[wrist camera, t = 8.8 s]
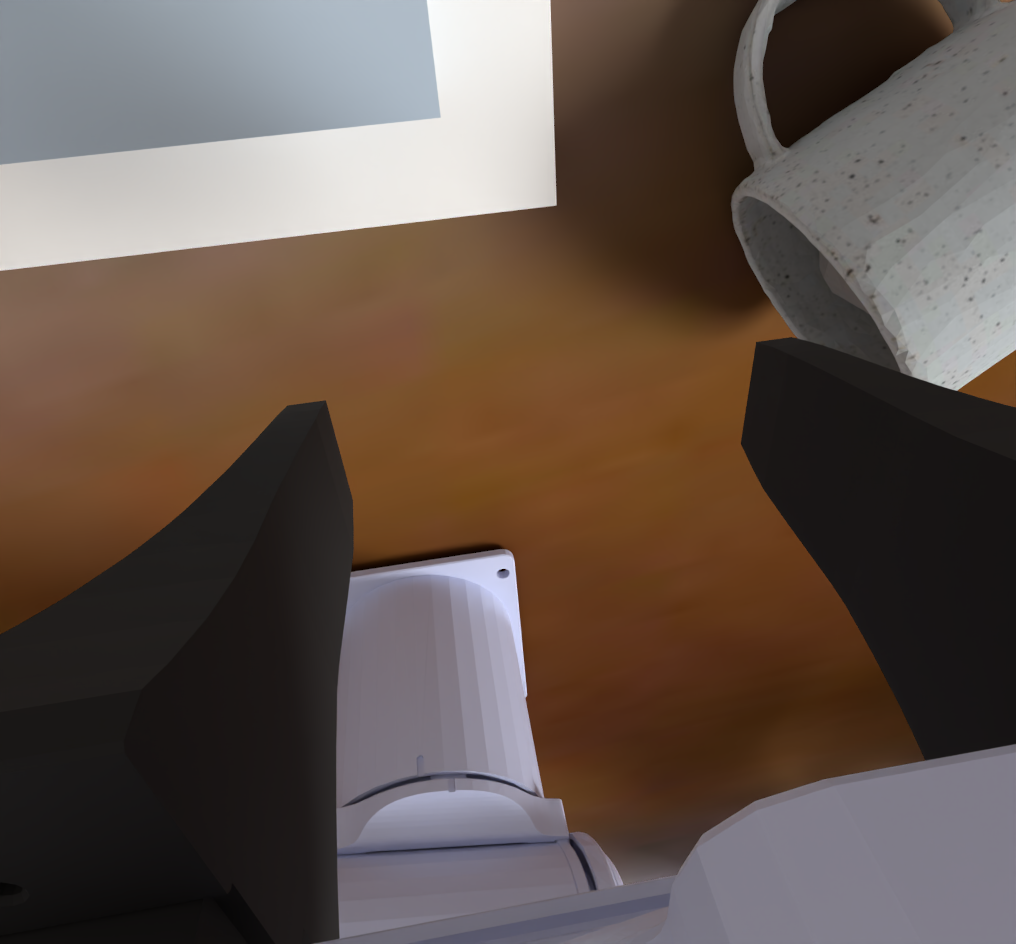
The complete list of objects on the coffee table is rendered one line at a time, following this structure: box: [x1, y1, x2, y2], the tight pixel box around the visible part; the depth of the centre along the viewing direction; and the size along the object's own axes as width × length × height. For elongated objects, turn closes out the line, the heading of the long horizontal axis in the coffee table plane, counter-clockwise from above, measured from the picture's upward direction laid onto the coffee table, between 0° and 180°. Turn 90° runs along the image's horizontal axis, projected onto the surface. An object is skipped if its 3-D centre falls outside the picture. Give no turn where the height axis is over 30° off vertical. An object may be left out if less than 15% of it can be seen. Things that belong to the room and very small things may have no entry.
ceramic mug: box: [731, 0, 1016, 391], centre depth 17 cm, size 11×8×8 cm
